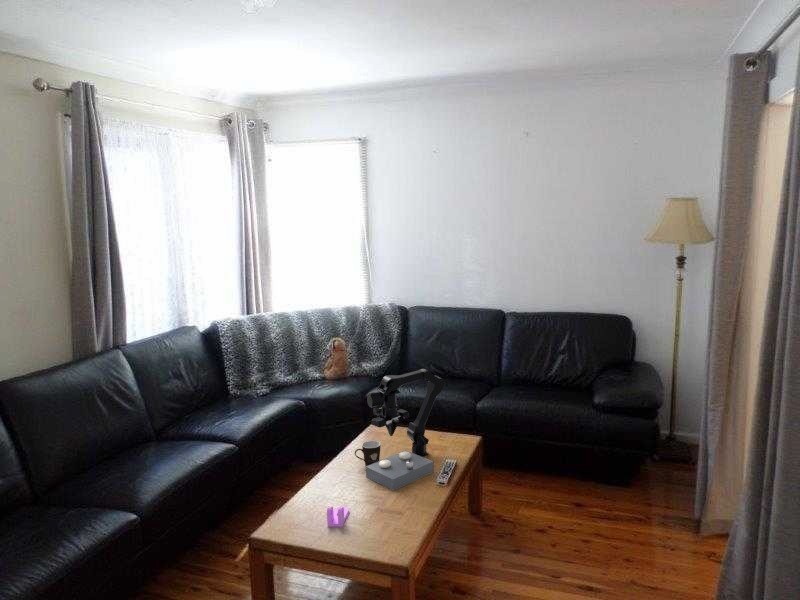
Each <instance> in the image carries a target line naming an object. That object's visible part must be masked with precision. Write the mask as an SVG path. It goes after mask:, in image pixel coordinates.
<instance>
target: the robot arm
mask: <svg viewBox="0 0 800 600" xmlns="http://www.w3.org/2000/svg"><path fill="white" fill-rule="evenodd" d="M421 380H425V381H426V382H427V384H426V394H425V397H424V399H423V401H422V403H421V405H420V406H421V407H420V409H419V411H418V414H417V416H416V418H415V420H414V421H412V422H411V421H410V422H409V424H408V427H406V430H407V431H406V434H407V437H408V438H409V439H410V441H412V444H411V445H412V446H411V453H414V454H416V455H419V456H421V457H425V456H428V455H430V453H429V452H427V445H428V444H429V439H428V438H427V437H426V436H425V434H426V423H427V421H428V418H429V416H430V413H431V411H432V408H433V406H434V405H435V401H436V399H437V397H438V396H439V395H440V394H441V393H442V391H443V390H444V388H445V387H446V381H445V380H444V379H443V378H442V377H439V376H438V375H434V374H433V373H432V372H430V371H429V370H428V369H425V368H420V369H419V370H415V371H410V372H408V373H403V374H400V375H398V374H397V375H396V374H394V375H393V374H391V375H390V374H389V375H385V376H383V377H382V379H381V382H380V384H379V386H378V387H377V389H376V391H370V392H368V395H367V399H366V400H367V401H366V402H367V405H368V407H369V408H373V409H372V412H373V415H374V416H377V417H375V418H372V419H371V425H372V426H375V427H377V428H383V427H386V430H387V432H388V434H389V436H390V437H393V436H394V434H395V431H396V430H397V427H398V425H399V424H400V423H401V420H399V418H400V417H403V419H408V418H410V413H409V411H407V410H405V409H402V408H401V409H398V408H399V405H398V404H397V394H400V393H401V391H400V390H399V389H400V388H401V387H402V386H403V385H407V384H411V383H414V382H417V381H421ZM380 416H381V417H380Z"/></svg>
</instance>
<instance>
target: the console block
mask: <svg viewBox="0 0 800 600" xmlns="http://www.w3.org/2000/svg"><path fill="white" fill-rule="evenodd" d="M401 452H409V453H410V454H411V458H410V460H411V461H413V469H412V470H407V469H406V461H409V459H406V460H403V459H400V458H399V454H400V453H401ZM401 452H398V453H394V454H392V455H390V456H388V457H385V458H383V459H379V461H378V462H376V463H373V464H371V465H368V466H365V478H367V479H369V480H371V481H373V482H375V483H378V484H379V485H381V486H384V487H385V488H388V489H389V490H391V491H393V492H394V491H396V490H398V489H400V488H402V487H404V486H407V485H409V484H411V483H414V482H415V481H417V480H420V479H421V478H425V476H428V475H430V474H432V473H434V461H433V460H431V459H428V458H426V457H425V456H423V457H421V456H419V455H416V454H414V453H412V451H408V450H407V449H405V450H402V451H401ZM382 460H389V461H391V466H390V467H388V468H385V469H384V468H381V467H379V462H380V461H382Z"/></svg>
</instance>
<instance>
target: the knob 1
mask: <svg viewBox="0 0 800 600" xmlns="http://www.w3.org/2000/svg"><path fill="white" fill-rule="evenodd" d="M381 460H382V461H380V460H379V461H380V462H379V467H381V468H384V469H385V468H388V467H390V466H391V461H389V460H383V459H381Z"/></svg>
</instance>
